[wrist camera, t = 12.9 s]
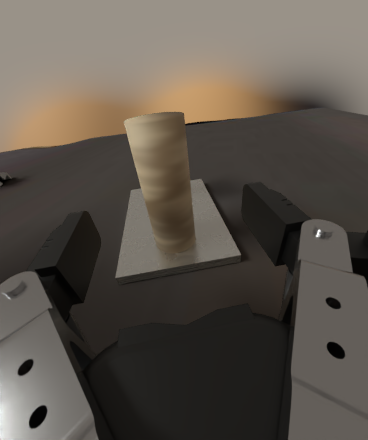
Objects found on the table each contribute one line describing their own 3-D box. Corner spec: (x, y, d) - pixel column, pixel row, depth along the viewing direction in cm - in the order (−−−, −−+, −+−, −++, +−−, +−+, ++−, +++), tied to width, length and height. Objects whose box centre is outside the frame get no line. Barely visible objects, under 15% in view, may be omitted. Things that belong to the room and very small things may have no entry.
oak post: (156, 256, 19) (120, 127, 12) (155, 229, 23) (127, 117, 16) (199, 249, 19) (188, 117, 12) (191, 223, 23) (179, 109, 16)
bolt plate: (118, 284, 18) (64, 177, 12) (132, 195, 33) (111, 125, 26) (240, 262, 19) (252, 148, 12) (201, 184, 33) (197, 113, 27)
